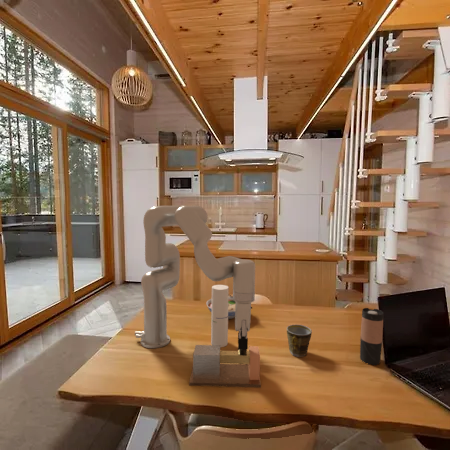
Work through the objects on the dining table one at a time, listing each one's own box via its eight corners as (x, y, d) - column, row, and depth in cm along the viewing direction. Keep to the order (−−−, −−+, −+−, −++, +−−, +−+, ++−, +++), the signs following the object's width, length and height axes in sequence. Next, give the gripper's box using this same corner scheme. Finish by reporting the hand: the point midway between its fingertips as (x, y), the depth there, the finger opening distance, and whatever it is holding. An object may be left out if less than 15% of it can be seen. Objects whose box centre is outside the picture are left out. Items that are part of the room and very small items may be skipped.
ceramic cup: (290, 344, 130) (291, 322, 129) (313, 351, 125) (314, 327, 124) (279, 358, 118) (280, 334, 118) (305, 365, 113) (306, 340, 113)
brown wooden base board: (189, 385, 100) (189, 358, 100) (193, 365, 112) (193, 341, 112) (260, 387, 100) (261, 360, 99) (257, 367, 112) (258, 343, 111)
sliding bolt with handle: (211, 363, 104) (211, 329, 103) (212, 358, 107) (212, 326, 106) (255, 364, 104) (256, 330, 103) (255, 359, 107) (256, 327, 106)
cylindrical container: (225, 348, 126) (226, 290, 124) (209, 346, 127) (210, 288, 125) (228, 340, 133) (229, 285, 131) (213, 338, 134) (214, 284, 132)
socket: (249, 379, 102) (250, 356, 102) (248, 368, 109) (249, 346, 109) (259, 380, 102) (260, 356, 102) (257, 368, 109) (258, 346, 109)
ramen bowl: (199, 311, 166) (199, 297, 166) (235, 305, 176) (235, 292, 175) (216, 329, 144) (217, 313, 143) (257, 321, 153) (258, 306, 153)
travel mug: (372, 367, 113) (375, 316, 111) (355, 357, 120) (357, 309, 118) (385, 362, 116) (388, 313, 115) (367, 353, 123) (370, 306, 121)
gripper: (232, 288, 112) (231, 335, 113) (233, 303, 95) (232, 358, 97) (252, 288, 112) (251, 336, 113) (256, 304, 95) (255, 359, 97)
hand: (242, 345), depth 105 cm, fingers closed on sliding bolt with handle, 3 cm apart
